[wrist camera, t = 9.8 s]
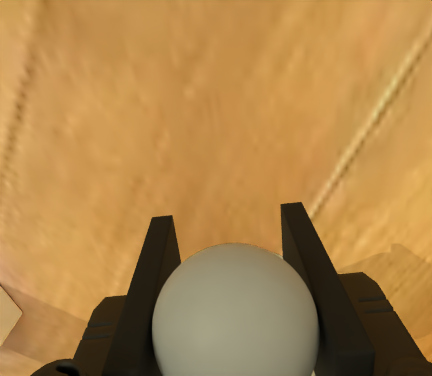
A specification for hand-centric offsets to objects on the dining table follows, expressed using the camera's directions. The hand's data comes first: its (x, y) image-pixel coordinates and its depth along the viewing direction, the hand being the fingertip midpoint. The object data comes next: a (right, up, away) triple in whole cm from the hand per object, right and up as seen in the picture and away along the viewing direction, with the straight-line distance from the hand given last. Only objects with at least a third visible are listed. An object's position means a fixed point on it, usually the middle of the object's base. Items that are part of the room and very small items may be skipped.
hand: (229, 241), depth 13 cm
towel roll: (+2, -14, +21) cm, 26 cm away
